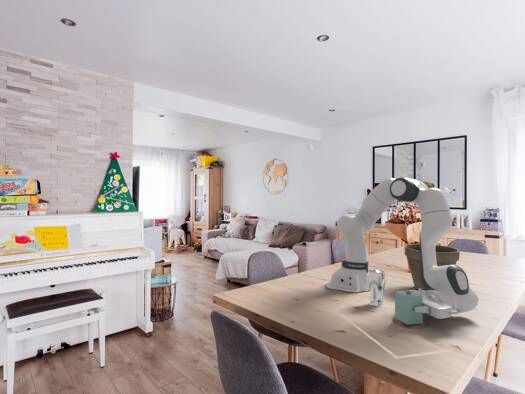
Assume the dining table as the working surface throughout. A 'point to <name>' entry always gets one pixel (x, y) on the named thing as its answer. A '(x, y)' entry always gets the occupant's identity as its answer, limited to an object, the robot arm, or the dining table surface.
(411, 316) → the teal knobbed box
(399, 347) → the dining table surface
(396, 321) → the disc
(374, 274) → the shiny silver metal cup
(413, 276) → the plant pot
